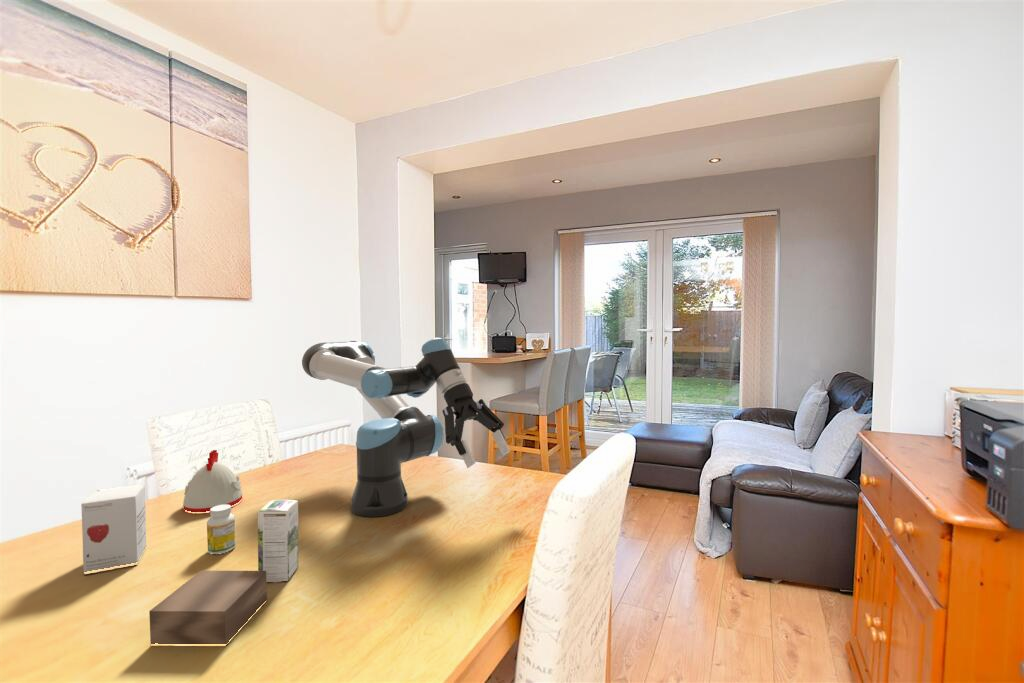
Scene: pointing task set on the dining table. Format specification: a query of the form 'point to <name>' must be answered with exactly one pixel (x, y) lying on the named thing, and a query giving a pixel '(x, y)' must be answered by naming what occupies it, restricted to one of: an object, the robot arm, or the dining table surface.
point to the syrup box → (278, 539)
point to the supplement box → (113, 527)
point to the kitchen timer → (212, 487)
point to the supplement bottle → (221, 529)
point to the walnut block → (208, 608)
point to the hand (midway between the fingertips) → (489, 459)
